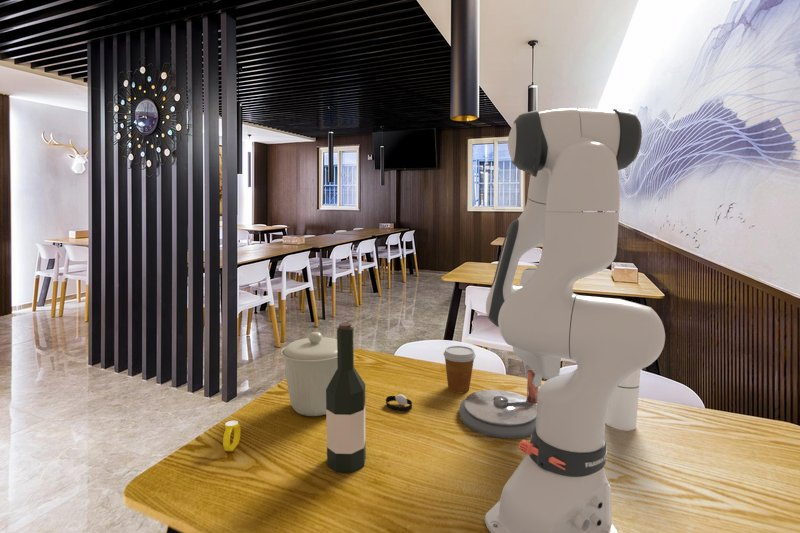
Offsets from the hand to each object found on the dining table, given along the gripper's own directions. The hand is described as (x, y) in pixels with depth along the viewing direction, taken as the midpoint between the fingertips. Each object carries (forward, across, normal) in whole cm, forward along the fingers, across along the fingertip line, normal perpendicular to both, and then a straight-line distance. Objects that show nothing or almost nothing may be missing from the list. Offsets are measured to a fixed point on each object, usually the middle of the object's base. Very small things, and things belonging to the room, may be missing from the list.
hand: (532, 382), depth 110 cm
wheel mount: (+9, 0, -8) cm, 12 cm away
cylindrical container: (+9, +6, +20) cm, 23 cm away
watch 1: (+9, +7, -74) cm, 74 cm away
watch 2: (+10, -9, -34) cm, 36 cm away
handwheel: (+7, 0, -8) cm, 11 cm away
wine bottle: (+9, +16, -48) cm, 51 cm away
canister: (+9, -11, -56) cm, 58 cm away
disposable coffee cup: (+9, -19, -14) cm, 26 cm away
